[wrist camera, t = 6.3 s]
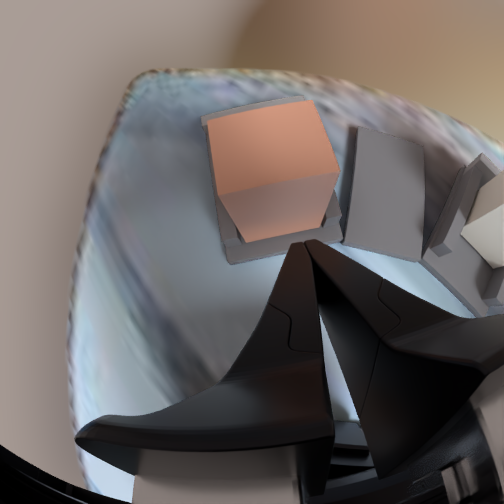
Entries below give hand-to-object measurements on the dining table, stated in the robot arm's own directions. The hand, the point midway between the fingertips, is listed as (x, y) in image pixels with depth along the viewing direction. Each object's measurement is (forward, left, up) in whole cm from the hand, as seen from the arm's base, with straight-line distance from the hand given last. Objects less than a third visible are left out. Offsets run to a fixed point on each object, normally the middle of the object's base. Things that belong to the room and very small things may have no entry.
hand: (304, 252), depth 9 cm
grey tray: (+7, -6, -10) cm, 13 cm away
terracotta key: (+5, +2, -9) cm, 10 cm away
